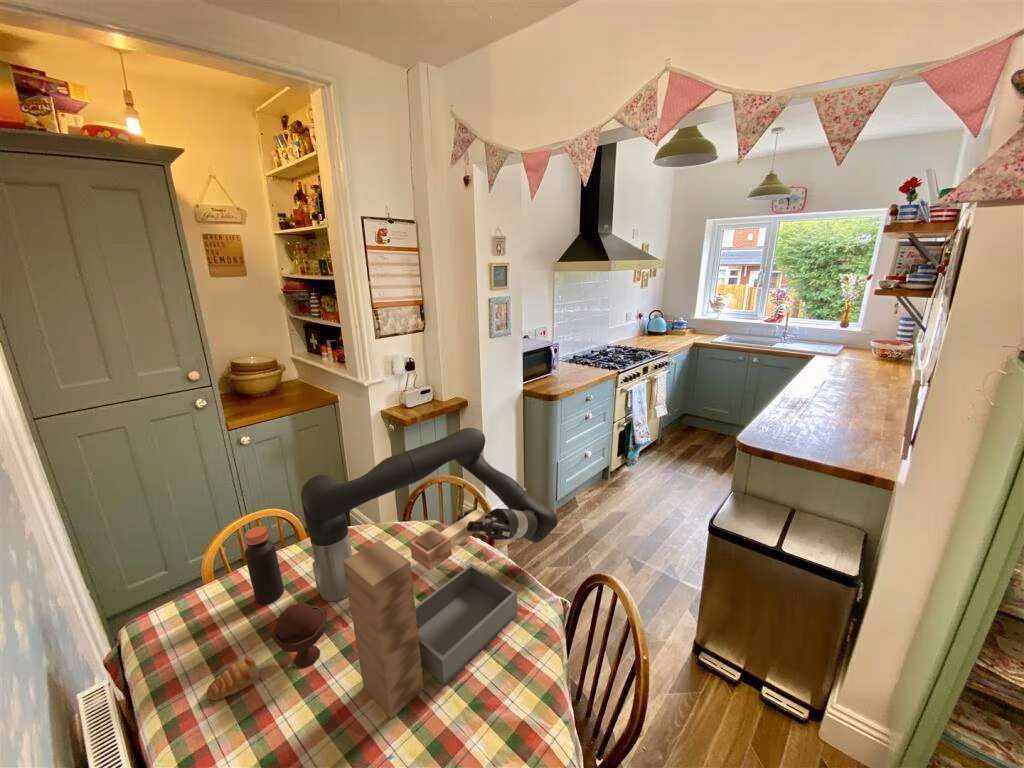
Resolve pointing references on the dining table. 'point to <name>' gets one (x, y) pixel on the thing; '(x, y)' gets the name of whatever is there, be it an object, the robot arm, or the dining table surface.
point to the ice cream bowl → (301, 632)
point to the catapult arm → (442, 541)
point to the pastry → (234, 678)
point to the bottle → (263, 566)
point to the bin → (462, 621)
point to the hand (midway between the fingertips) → (463, 523)
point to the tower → (385, 625)
